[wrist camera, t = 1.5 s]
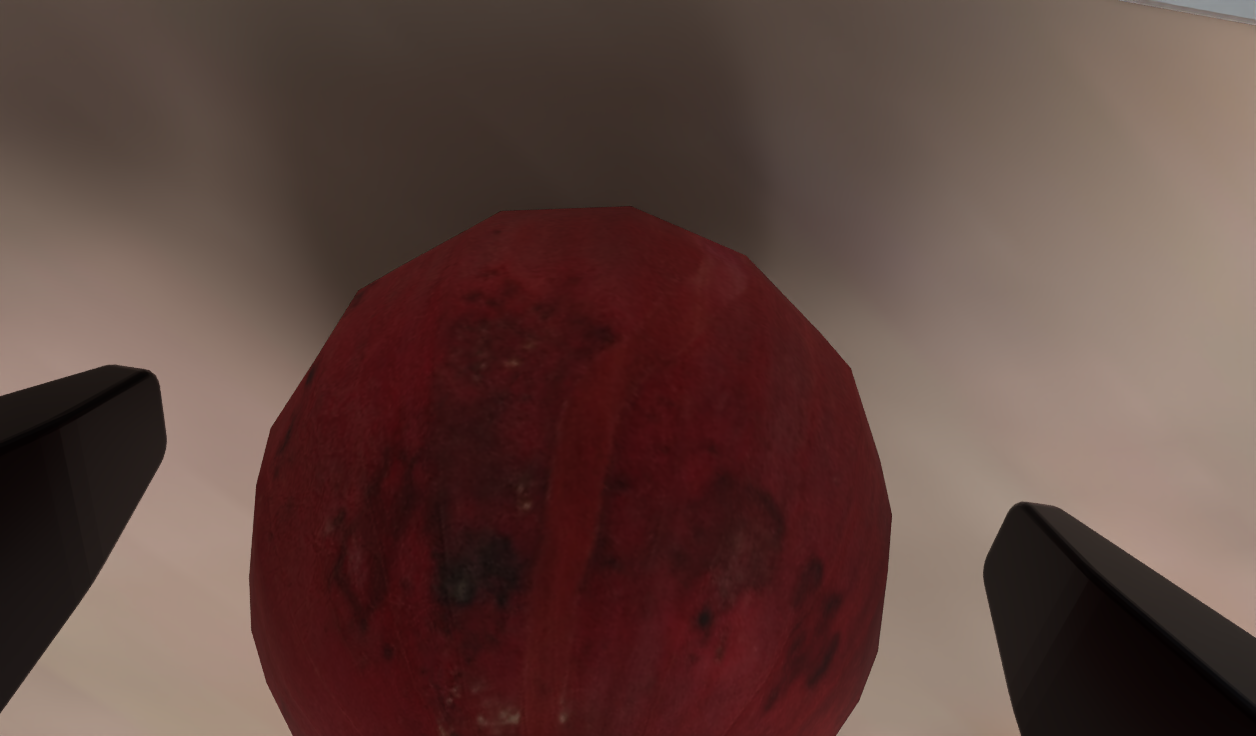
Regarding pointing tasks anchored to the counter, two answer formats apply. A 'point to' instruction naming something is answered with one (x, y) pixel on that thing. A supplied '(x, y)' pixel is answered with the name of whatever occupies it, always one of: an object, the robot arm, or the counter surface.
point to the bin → (1209, 8)
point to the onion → (571, 498)
